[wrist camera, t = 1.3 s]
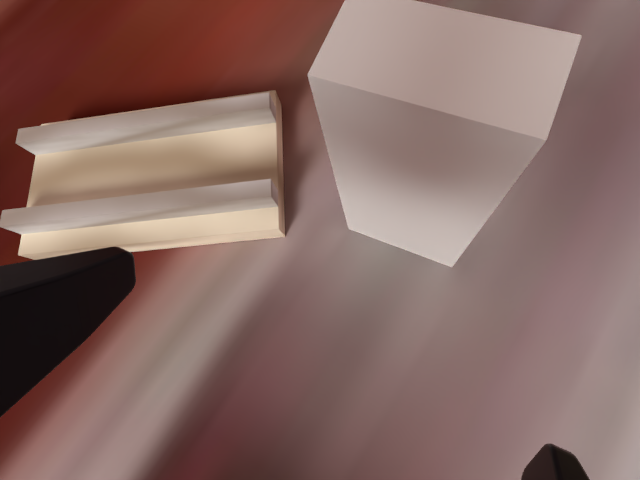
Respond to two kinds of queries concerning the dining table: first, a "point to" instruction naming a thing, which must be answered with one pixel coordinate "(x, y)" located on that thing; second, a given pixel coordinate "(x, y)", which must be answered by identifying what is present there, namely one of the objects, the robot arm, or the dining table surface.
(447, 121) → the door panel
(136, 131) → the track base
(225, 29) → the dining table surface
